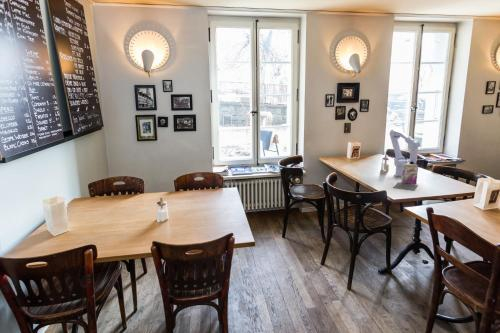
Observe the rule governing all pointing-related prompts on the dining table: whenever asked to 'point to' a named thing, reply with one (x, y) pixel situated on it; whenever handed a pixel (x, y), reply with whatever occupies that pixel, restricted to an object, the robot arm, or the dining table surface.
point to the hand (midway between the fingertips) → (412, 169)
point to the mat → (405, 186)
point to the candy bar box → (409, 173)
